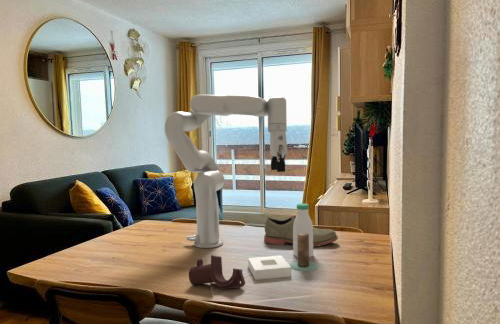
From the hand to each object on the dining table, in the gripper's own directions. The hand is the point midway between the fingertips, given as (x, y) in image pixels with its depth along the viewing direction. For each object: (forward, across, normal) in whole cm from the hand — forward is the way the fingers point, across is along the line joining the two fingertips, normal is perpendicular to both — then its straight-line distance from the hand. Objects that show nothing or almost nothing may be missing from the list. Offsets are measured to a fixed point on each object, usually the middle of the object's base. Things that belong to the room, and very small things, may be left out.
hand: (277, 170), depth 143 cm
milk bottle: (+32, -10, -7) cm, 35 cm away
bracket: (+33, -31, +28) cm, 53 cm away
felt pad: (+32, -22, -3) cm, 39 cm away
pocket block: (+32, -24, +10) cm, 41 cm away
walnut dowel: (+32, -22, -3) cm, 39 cm away
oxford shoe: (+33, +6, -11) cm, 35 cm away
